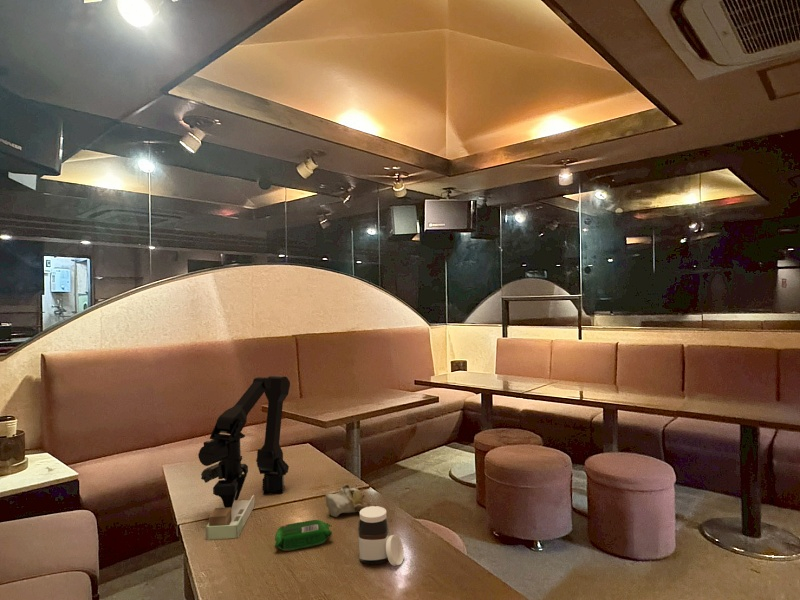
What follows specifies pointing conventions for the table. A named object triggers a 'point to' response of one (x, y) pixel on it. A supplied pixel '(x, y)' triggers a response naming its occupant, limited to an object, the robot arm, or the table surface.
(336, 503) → the ceramic sculpture
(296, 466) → the table surface
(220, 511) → the walnut block
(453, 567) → the table surface
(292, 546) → the snack package
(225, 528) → the tray
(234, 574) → the table surface
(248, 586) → the table surface
